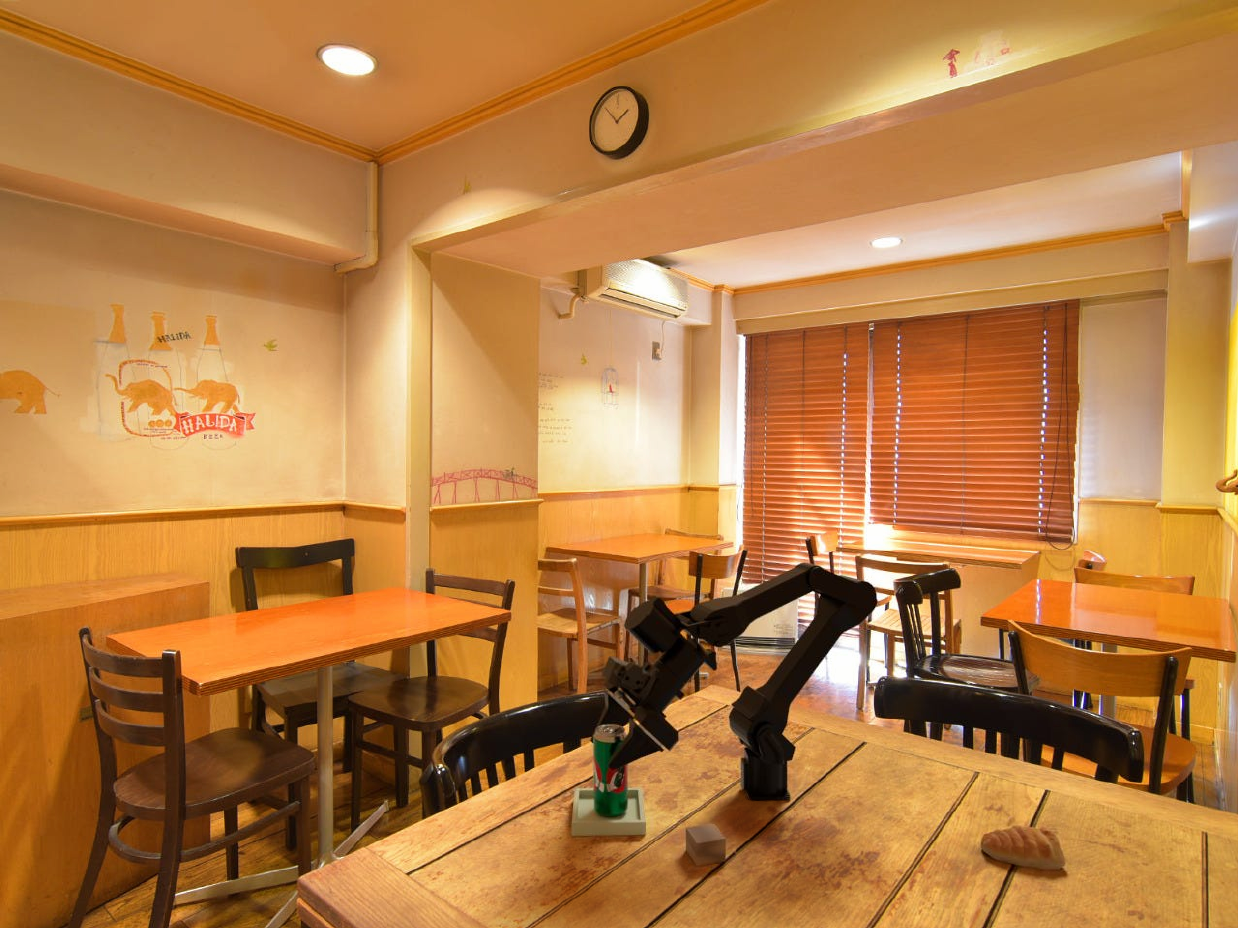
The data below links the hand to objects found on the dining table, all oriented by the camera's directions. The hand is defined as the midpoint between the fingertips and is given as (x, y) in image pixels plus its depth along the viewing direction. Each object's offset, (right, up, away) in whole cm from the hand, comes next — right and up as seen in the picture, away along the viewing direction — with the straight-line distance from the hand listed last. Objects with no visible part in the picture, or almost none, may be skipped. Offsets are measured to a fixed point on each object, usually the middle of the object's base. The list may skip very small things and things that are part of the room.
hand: (600, 754), depth 104 cm
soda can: (+1, -9, +1) cm, 9 cm away
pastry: (+56, -10, -10) cm, 58 cm away
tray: (+1, -9, +1) cm, 9 cm away
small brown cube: (+14, -9, -10) cm, 20 cm away
